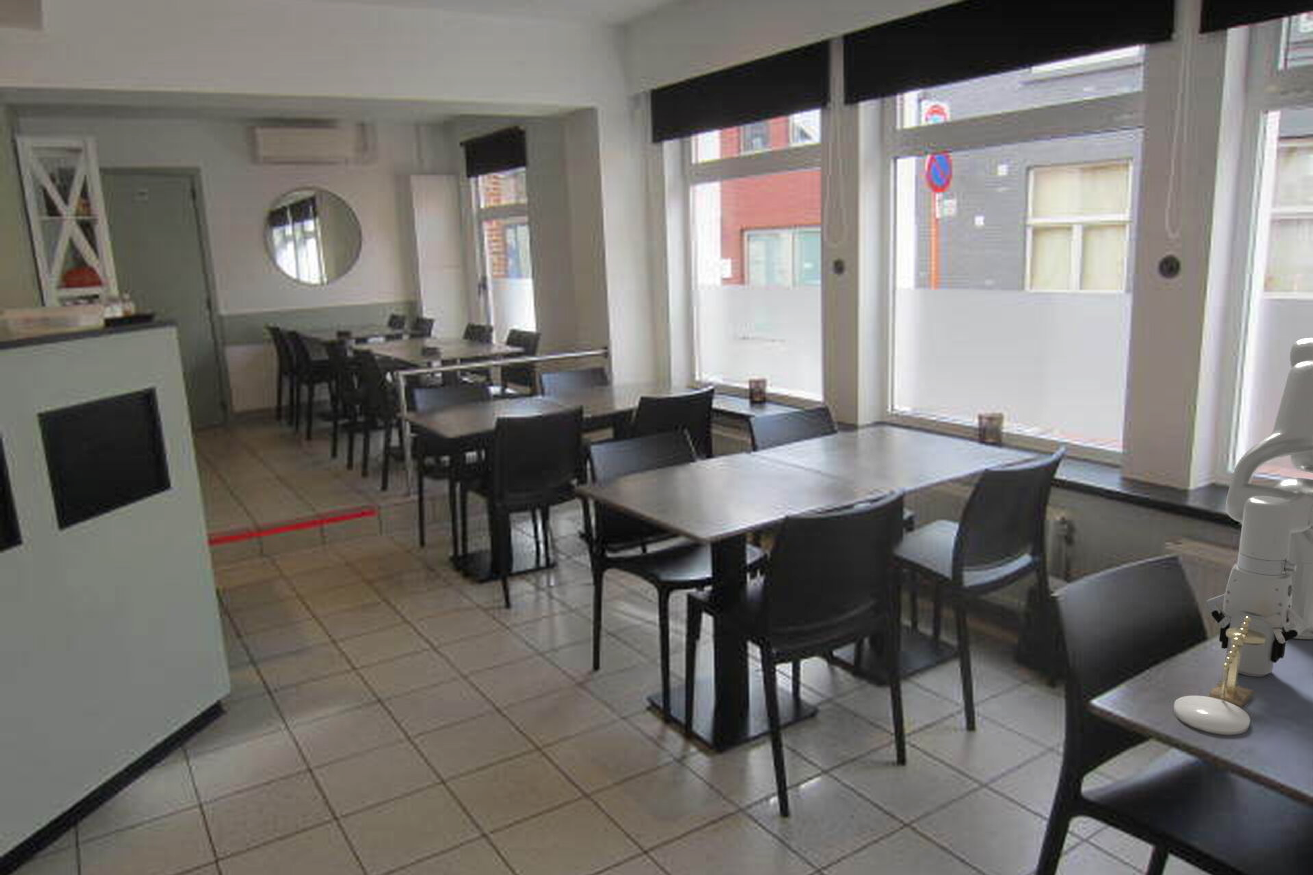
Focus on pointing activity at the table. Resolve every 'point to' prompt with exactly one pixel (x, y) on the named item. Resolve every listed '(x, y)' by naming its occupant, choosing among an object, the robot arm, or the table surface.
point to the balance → (1236, 665)
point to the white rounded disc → (1211, 715)
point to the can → (1254, 647)
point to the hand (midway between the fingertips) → (1250, 652)
